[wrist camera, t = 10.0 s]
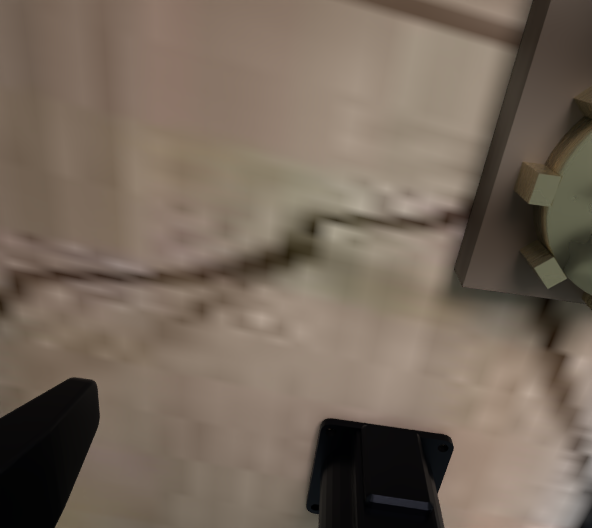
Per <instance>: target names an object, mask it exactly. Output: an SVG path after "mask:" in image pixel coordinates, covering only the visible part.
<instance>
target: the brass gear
mask: <svg viewBox="0 0 592 528" xmlns="http://www.w3.org/2000/svg"><path fill="white" fill-rule="evenodd" d="M573 99H574V100H575V102H576V104H577V106H578V108H579V110H580V112H581V113H582V115H583V116H584V117H583V118H582V119H580V120H579V121H578V122H577V123H576V124H575V125H574V126H573V127H572V128H571V129H570V130H569V131H568V132H567V133H566V134H565V135H564V136H563V137H562V139H561V140H560V141H559V142H558V144H557V145H556V147H555V148H554V149H553V151H552V152H551V154H550V156H549V157H548V159H547V161H546V163H545V164H537V163H529V162H522V165H521V168H520V171H519V174H518V177H517V180H516V184H515V187H514V191H515V192H516V193H517V194H518V195H520V196H521V197H522V198H523V199H524V200H525V201H526V202H527V203H528V204H533V220H534V226H535V231H536V234H537V237H538V240H539V241H538V240H536V241H534V242H532V243H531V244H529V245H527V246H525V247H524V248H522V249H520V252H521V253H522V255H523V256H524V258H525V259H526V261H527V263H528V264H529V266H530V267H531V269H532V270H533V271H534V273H535V274H536V275H537V276H538V278H539V279H540V280H541V281H542V283H543V284H544V285H545V286H546V288H547V289H549V288H551V287H552V286H554V285H556V284H558V283H560V282H562V281H563V280H565V279H567V277H568V278H569V279H570V280H571V281H572V282H573V283H574V284H575V285H576V286H578V287H579V288H580V289H582V290H583V291H585V292H584V294H583V296H582V298H581V299H582V300H583V301H584V302H585V303H586V304H587V305H588V306H589V307H590V309H591V310H592V86H591V87H589V88H588V89H586V90H585V91H583V92H582V93H580V94H579V95H577V96H576V97H574V98H573ZM565 275H566V276H567V277H566V276H565Z"/></svg>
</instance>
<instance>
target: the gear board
mask: <svg viewBox="0 0 592 528" xmlns="http://www.w3.org/2000/svg"><path fill="white" fill-rule="evenodd" d="M591 86H592V0H533V3H532V7H531V10H530V14H529V17H528V20H527V24H526V27H525V31H524V34H523V37H522V41H521V44H520V48H519V51H518V54H517V58H516V61H515V65H514V68H513V71H512V75H511V78H510V82H509V85H508V88H507V92H506V95H505V98H504V102H503V105H502V109H501V112H500V115H499V119H498V122H497V126H496V129H495V132H494V136H493V139H492V143H491V146H490V149H489V153H488V156H487V160H486V163H485V166H484V170H483V173H482V177H481V180H480V183H479V187H478V190H477V194H476V197H475V200H474V204H473V207H472V211H471V214H470V217H469V221H468V224H467V228H466V231H465V234H464V238H463V241H462V245H461V248H460V251H459V255H458V258H457V261H456V265H455V268H454V270H455V272H456V274H457V276H458V278H459V280H460V282H461V284H462V287H468V288H475V289H482V290H490V291H497V292H504V293H511V294H518V295H526V296H533V297H540V298H547V299H554V300H562V301H569V302H576V303H583V304H586V303H585V302H584V301H583V300H582V299H581V298H582V296H583V294H584V292H585V291H583V290H582V289H580V288H579V287H578V286H576V285H575V284H574V283H573V282H572V281H571V280H570V279H569V278H568V277H567V276H566V275H565V276H566V277H567V279H565V280H563V281H562V282H560V283H558V284H556V285H554V286H552V287H551V288H549V289H547V288H546V286H545V285H544V284H543V283H542V281H541V280H540V279H539V278H538V276H537V275H536V274H535V273H534V271H533V270H532V269H531V267H530V266H529V264H528V263H527V261H526V259H525V258H524V256H523V255H522V253H521V252H520V249H522V248H524V247H525V246H527V245H529V244H531V243H532V242H534V241H536V240H538V237H537V234H536V231H535V226H534V220H533V204H528V203H527V202H526V201H525V200H524V199H523V198H522V197H521V196H520V195H518V194H517V193H516V192H515V191H514V187H515V184H516V180H517V177H518V174H519V171H520V168H521V165H522V162H529V163H537V164H545V163H546V161H547V159H548V157H549V156H550V154H551V152H552V151H553V149H554V148H555V147H556V145H557V144H558V142H559V141H560V140H561V139H562V137H563V136H564V135H565V134H566V133H567V132H568V131H569V130H570V129H571V128H572V127H573V126H574V125H575V124H576V123H577V122H578V121H579V120H580V119H582V118H583V117H584V116H583V115H582V113H581V112H580V110H579V108H578V106H577V104H576V102H575V100H574V99H573V98H574V97H576V96H577V95H579V94H580V93H582V92H583V91H585V90H586V89H588V88H589V87H591ZM538 241H539V240H538Z"/></svg>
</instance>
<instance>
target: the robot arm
mask: <svg viewBox="0 0 592 528" xmlns="http://www.w3.org/2000/svg"><path fill="white" fill-rule="evenodd" d="M99 419H100V411H99V400H98V388H97V384H96V382H95V381H93V380H90V379H83V378H76V377H75V378H70V379H67V380H66V381H64V382H62V383H60V384H59V385H57V386H55V387H53V388H52V389H50V390H48V391H47V392H45V393H43V394H41V395H40V396H38V397H36V398H34V399H33V400H31V401H29V402H27V403H26V404H24V405H22V406H21V407H19V408H17V409H15V410H14V411H12V412H10V413H8V414H7V415H5V416H3V417H1V418H0V528H55V526H56V524H57V522H58V520H59V518H60V516H61V514H62V512H63V510H64V508H65V505H66V503H67V501H68V498H69V496H70V494H71V491H72V489H73V486H74V484H75V482H76V479H77V477H78V474H79V472H80V469H81V467H82V465H83V462H84V460H85V457H86V455H87V453H88V450H89V448H90V445H91V443H92V440H93V438H94V436H95V433H96V431H97V428H98V425H99ZM328 428H332V429H333V430H329V429H328ZM443 444H445V445H443ZM440 445H443V446H440ZM453 449H454V446H453V443H452V440H451V438H450V437H449V436H447V435H444V434H437V433H430V432H423V431H416V430H409V429H402V428H395V427H388V426H381V425H374V424H367V423H360V422H353V421H346V420H339V419H325V420H324V421H323V422H322V423H321V426H320V432H319V437H318V442H317V448H316V453H315V458H314V464H313V469H312V474H311V480H310V485H309V491H308V496H307V504H306V507H307V510H308V511H309V512H311V513H314V514H319V528H444V523H443V518H442V514H441V509H440V504H439V500H438V495H437V494H438V491H439V488H440V486H441V483H442V480H443V477H444V475H445V472H446V469H447V466H448V463H449V461H450V458H451V455H452V452H453Z"/></svg>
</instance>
